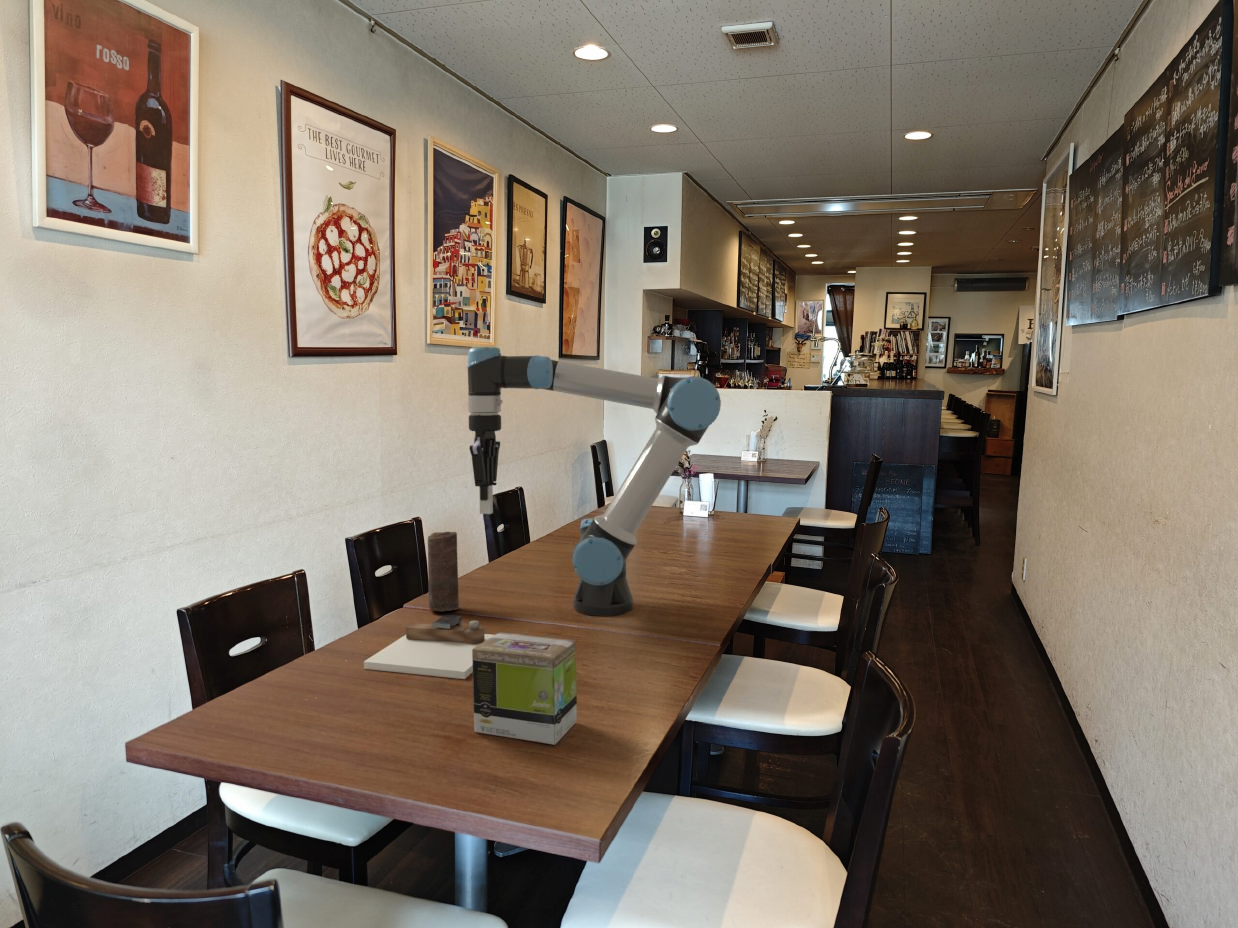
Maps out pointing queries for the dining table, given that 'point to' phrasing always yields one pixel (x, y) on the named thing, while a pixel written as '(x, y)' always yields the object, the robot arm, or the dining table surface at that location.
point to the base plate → (426, 658)
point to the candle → (443, 571)
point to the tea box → (525, 687)
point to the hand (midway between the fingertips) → (486, 513)
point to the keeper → (447, 622)
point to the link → (447, 633)
